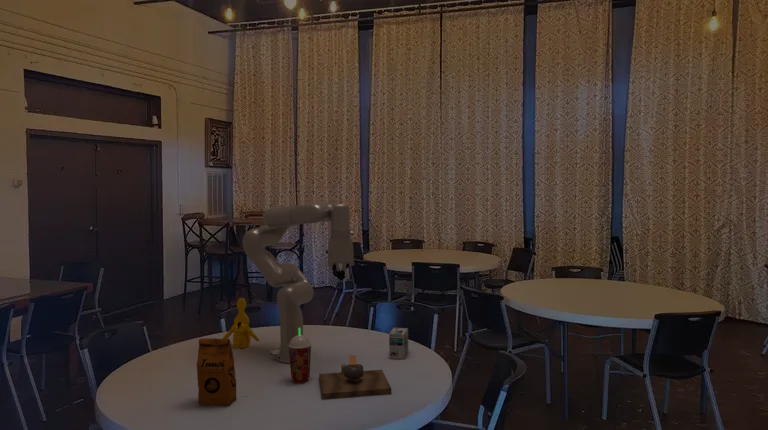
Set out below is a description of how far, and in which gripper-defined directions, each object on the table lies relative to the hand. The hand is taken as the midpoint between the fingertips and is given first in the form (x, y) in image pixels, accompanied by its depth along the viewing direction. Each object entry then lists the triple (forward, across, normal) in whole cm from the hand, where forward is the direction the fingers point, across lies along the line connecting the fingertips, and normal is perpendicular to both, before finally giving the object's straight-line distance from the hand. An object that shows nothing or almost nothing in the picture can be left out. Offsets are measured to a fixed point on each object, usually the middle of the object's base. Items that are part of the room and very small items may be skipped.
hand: (341, 280), depth 218 cm
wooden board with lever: (+35, -3, +22) cm, 41 cm away
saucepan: (+31, -3, +18) cm, 36 cm away
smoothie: (+35, +17, +13) cm, 41 cm away
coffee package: (+35, +44, +29) cm, 63 cm away
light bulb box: (+35, -25, -11) cm, 44 cm away
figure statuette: (+35, +44, -36) cm, 67 cm away
